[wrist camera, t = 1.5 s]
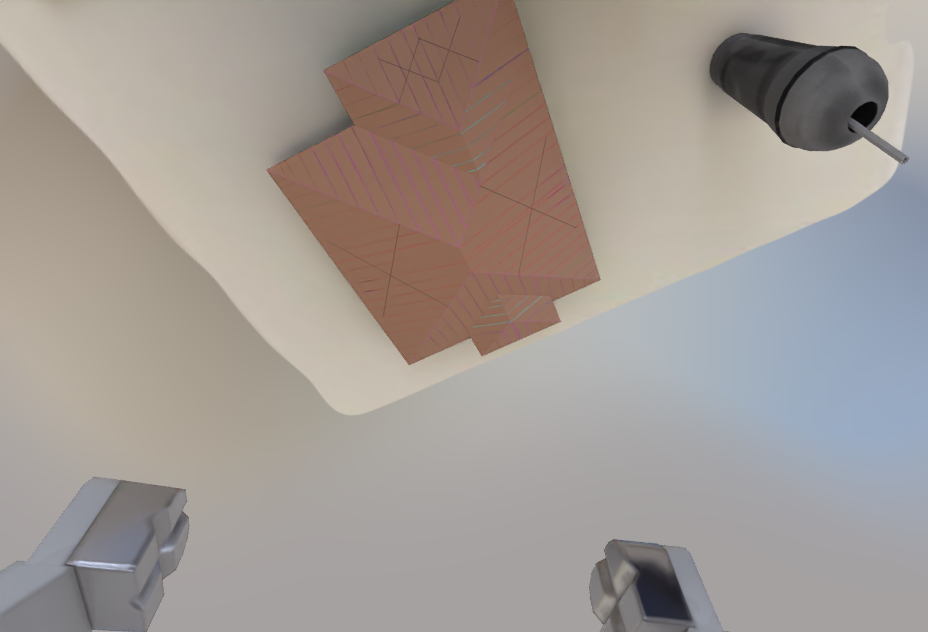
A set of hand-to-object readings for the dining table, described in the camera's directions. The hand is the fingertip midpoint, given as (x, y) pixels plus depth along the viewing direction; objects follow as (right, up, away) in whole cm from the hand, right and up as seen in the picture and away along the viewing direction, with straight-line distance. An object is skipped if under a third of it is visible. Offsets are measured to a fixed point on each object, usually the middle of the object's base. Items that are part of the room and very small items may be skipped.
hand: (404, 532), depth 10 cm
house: (-1, +15, +42) cm, 44 cm away
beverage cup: (+26, +27, +38) cm, 53 cm away
